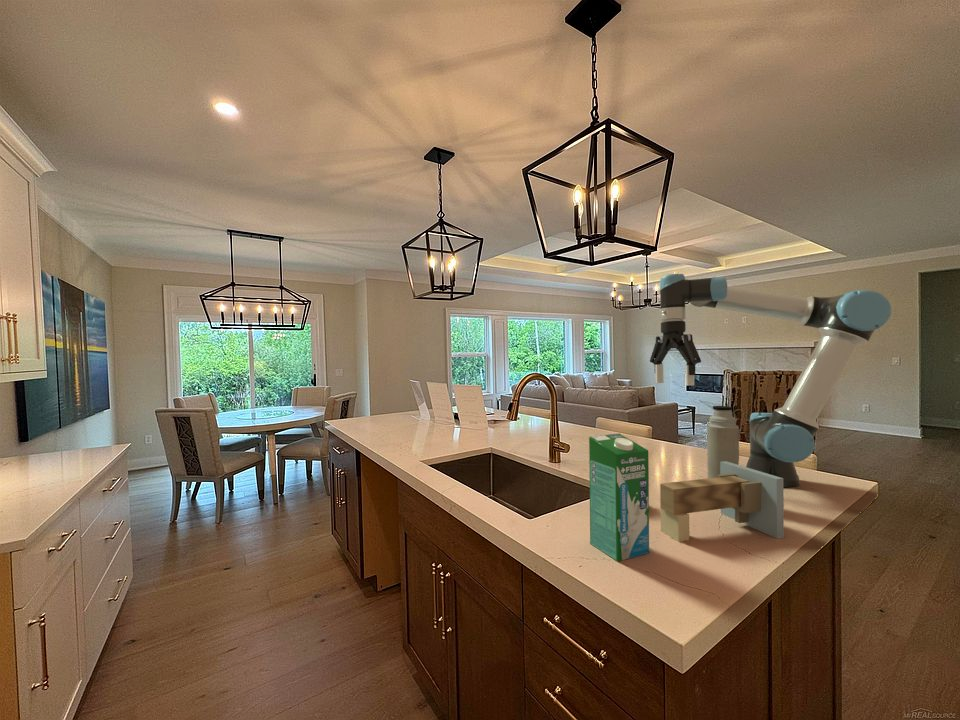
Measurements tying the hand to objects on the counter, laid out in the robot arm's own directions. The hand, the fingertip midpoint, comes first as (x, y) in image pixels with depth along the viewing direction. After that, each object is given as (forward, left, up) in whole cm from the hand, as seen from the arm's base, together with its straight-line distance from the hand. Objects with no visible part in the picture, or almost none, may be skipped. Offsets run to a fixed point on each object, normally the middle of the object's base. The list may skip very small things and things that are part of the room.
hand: (674, 384), depth 135 cm
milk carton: (+45, +35, -34) cm, 66 cm away
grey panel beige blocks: (+17, +33, -33) cm, 50 cm away
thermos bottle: (-1, +18, -34) cm, 38 cm away
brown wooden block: (+19, +33, -27) cm, 47 cm away
